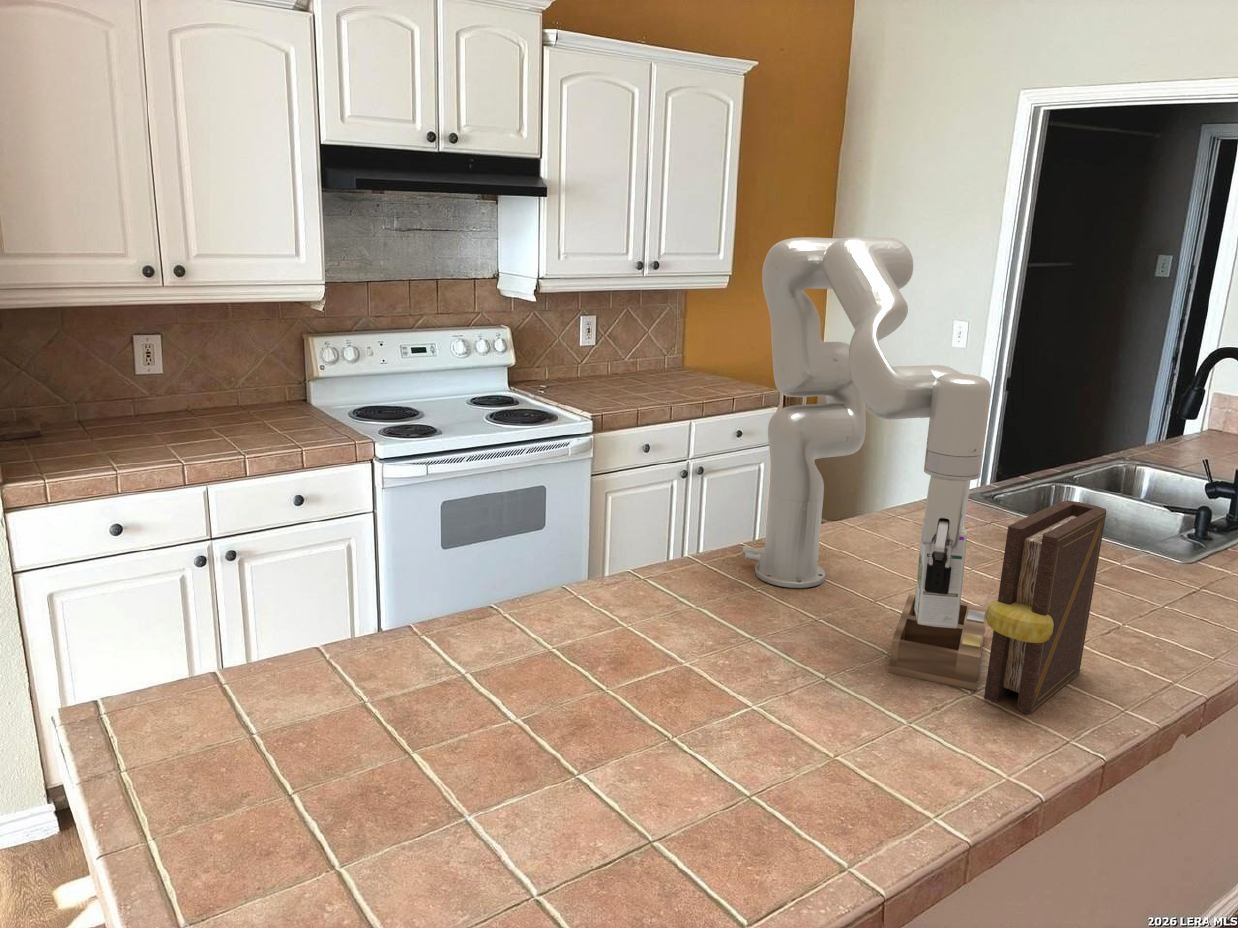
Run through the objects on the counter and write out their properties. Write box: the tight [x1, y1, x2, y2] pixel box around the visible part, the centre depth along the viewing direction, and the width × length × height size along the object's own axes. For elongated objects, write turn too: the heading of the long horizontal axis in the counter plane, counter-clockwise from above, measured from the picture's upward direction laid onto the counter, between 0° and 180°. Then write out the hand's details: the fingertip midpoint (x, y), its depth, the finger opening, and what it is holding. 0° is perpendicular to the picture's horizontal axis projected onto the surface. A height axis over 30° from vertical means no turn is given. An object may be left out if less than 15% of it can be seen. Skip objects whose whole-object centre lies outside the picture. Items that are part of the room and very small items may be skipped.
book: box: [983, 500, 1107, 716], centre depth 131 cm, size 22×8×25 cm, turn 134°
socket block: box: [888, 593, 989, 691], centre depth 143 cm, size 20×12×5 cm, turn 157°
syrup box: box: [914, 518, 968, 628], centre depth 136 cm, size 6×6×14 cm
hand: (938, 582), depth 137 cm, fingers closed on syrup box, 6 cm apart
